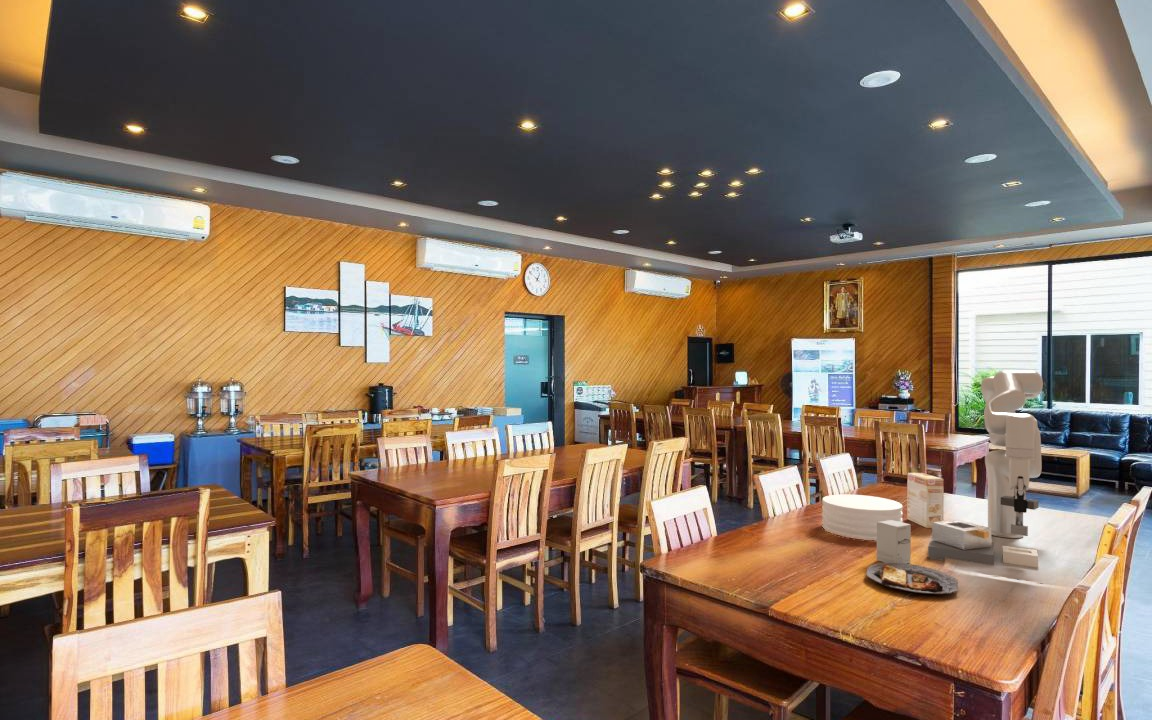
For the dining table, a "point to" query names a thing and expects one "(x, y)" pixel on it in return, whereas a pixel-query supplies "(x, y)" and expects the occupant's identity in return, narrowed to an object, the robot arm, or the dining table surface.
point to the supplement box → (893, 542)
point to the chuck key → (1019, 514)
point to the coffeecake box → (925, 499)
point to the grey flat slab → (961, 553)
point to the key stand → (1020, 556)
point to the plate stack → (858, 514)
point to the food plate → (912, 578)
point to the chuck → (961, 534)
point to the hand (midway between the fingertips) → (1019, 509)
